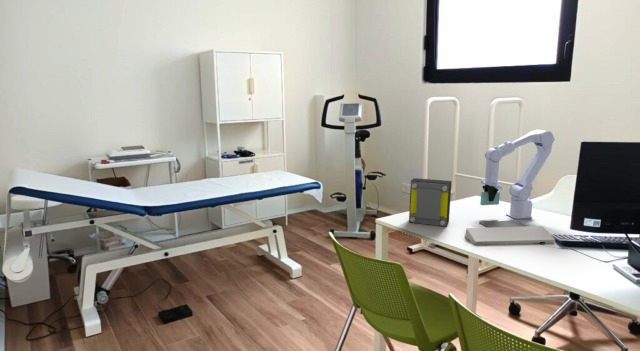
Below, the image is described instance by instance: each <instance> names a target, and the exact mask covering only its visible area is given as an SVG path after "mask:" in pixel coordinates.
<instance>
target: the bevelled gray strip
mask: <svg viewBox="0 0 640 351" xmlns="http://www.w3.org/2000/svg"><path fill="white" fill-rule="evenodd" d="M464 238H466V239H467V240H469V241H470V242H471V243H472V244H473V245H476V246H478V245H479V246H480V245H510V244H511V245H513V244H516V245H518V244H519V245H520V244H541V243H540V242H545V243H544V244H549V243H550V244H551V243H553V244H554V243H555V241H556V239H555V237H554V236H553V235H552V234H551V233H550V232H549V231H548V230H547V229H546V228H545V227H544V226H542V225H541V226H539V225H538V226H537V225H536V226H527V227H490V228H488V227H466V229H465V233H464Z"/></svg>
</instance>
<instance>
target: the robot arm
mask: <svg viewBox="0 0 640 351" xmlns="http://www.w3.org/2000/svg"><path fill="white" fill-rule="evenodd" d="M554 141H555V136H554V134H553V132H552V131H549V130H543V129H542V130H541V129H538V128H537V129H534V130H532V131H531V130H530V132H528V133H526V134H525V135H523V136H521V137H519V138H517V139H515V140H513V141H510V140H509V141H505V140H504V141H503V143H502V144H500V145H495V146H494V147H492V148H491V147H490V148H488V149H487V150H486V152H485V153H484V158H485V159H486V163H485V178H483V179H482V178H481V179H480V184H481V185H482V184H483V185H482V189H483V192H488V194H489V201H490V202H491V201H494V198H495V196H496V194H497V192H499V190H502V189H503V185H501V184H500V183H499V166H500V161H501V160H502V158H504V157H507V156H508V155H510V154H512V153H514V152H515V150H516V149H517V148H519V147H522V146H525V145H526V144H530V143H533V144H534V145H535V147H536V149H537V151H536V153H535V155H534V156H533V158H532V159H531V161H530V163H529V164H528V165H527V168H526V169H525V171H524V172H523V174H522V176H521V178H518V180H515V182H514V183H513V184H512V185H510V186H509V190H508V191H509V194H510V195H511V196H510V197H511V198H510V208H509V212H508V213H506V214H505V215H506V216H509V217H511V218H513V219H514V220H521V219H532V218H533V216H532V212H533V203H532V200H531V199H530V197H531V193H532V190H533V184H532V183H534V180H535V179H536V178H537V175H538V174H539V172H540V171H541V169H542V168H543V166H544V164H545V163H546V161H547V159H548V158H549V157H550V154H551V152H552V149H553V148H552V147H553V143H554Z"/></svg>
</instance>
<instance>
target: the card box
mask: <svg viewBox="0 0 640 351" xmlns="http://www.w3.org/2000/svg"><path fill="white" fill-rule="evenodd" d="M500 196H501V192H500V191H498V192H497V194H496V196H495V198H494V201H491V202H490V201H489V194H488V192H484V191H483V192H482V191H481V193H480V201H479V202H480V204H479V205H481V206H494V205H495V206H496V205H500Z"/></svg>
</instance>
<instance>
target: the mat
mask: <svg viewBox="0 0 640 351" xmlns="http://www.w3.org/2000/svg"><path fill="white" fill-rule="evenodd" d="M478 223H479V224H480V225H482V226H483V227H485V228H490V227H528V226H527V225H524V224H523V223H520V222H519V221H517V220H515V219H511V220H510V219H509V220H497V221H496V220H495V221H494V220H493V221H481V222H478Z"/></svg>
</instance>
